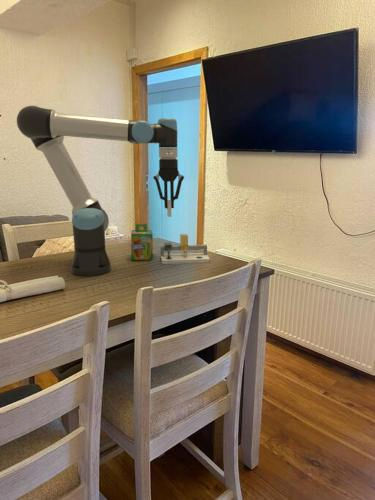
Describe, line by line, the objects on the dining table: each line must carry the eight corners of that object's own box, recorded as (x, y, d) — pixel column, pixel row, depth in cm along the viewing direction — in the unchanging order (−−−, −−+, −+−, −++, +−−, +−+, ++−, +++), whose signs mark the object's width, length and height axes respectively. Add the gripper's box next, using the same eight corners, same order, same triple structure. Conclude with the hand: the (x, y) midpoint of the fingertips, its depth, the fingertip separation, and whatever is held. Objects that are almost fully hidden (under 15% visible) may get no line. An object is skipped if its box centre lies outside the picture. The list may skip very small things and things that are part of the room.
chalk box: (131, 261, 162) (130, 226, 159) (131, 255, 171) (130, 222, 167) (153, 260, 164) (152, 226, 160) (152, 254, 172) (151, 222, 169)
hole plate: (162, 264, 158) (162, 251, 156) (160, 257, 167) (160, 245, 166) (209, 262, 160) (210, 249, 159) (205, 256, 170) (205, 244, 169)
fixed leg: (165, 258, 160) (165, 246, 159) (164, 254, 167) (163, 242, 166) (172, 258, 160) (172, 246, 159) (170, 253, 167) (170, 242, 166)
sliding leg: (182, 257, 161) (182, 238, 159) (180, 252, 168) (180, 234, 166) (189, 257, 161) (189, 237, 159) (186, 252, 168) (186, 234, 166)
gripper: (152, 158, 151) (154, 218, 157) (185, 158, 152) (185, 217, 158) (151, 158, 158) (153, 215, 164) (183, 158, 160) (183, 214, 166)
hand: (169, 216), depth 161 cm, fingers closed
